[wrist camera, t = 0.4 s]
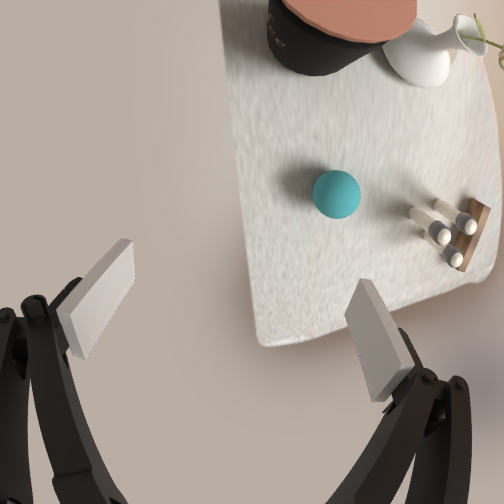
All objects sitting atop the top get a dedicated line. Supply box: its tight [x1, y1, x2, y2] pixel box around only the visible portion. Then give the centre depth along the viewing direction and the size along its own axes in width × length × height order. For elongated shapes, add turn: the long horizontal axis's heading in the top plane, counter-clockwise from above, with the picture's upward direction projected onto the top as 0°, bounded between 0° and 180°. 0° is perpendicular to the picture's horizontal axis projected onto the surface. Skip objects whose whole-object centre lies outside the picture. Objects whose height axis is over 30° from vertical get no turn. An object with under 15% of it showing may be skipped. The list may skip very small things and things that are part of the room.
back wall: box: [454, 198, 491, 272], centre depth 35 cm, size 12×2×4 cm, turn 169°
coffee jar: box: [267, 0, 417, 76], centre depth 18 cm, size 11×11×18 cm
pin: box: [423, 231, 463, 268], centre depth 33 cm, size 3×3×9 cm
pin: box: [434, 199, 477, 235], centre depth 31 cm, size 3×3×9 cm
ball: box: [313, 170, 360, 219], centre depth 32 cm, size 6×6×6 cm
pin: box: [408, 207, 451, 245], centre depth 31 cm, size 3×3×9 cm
